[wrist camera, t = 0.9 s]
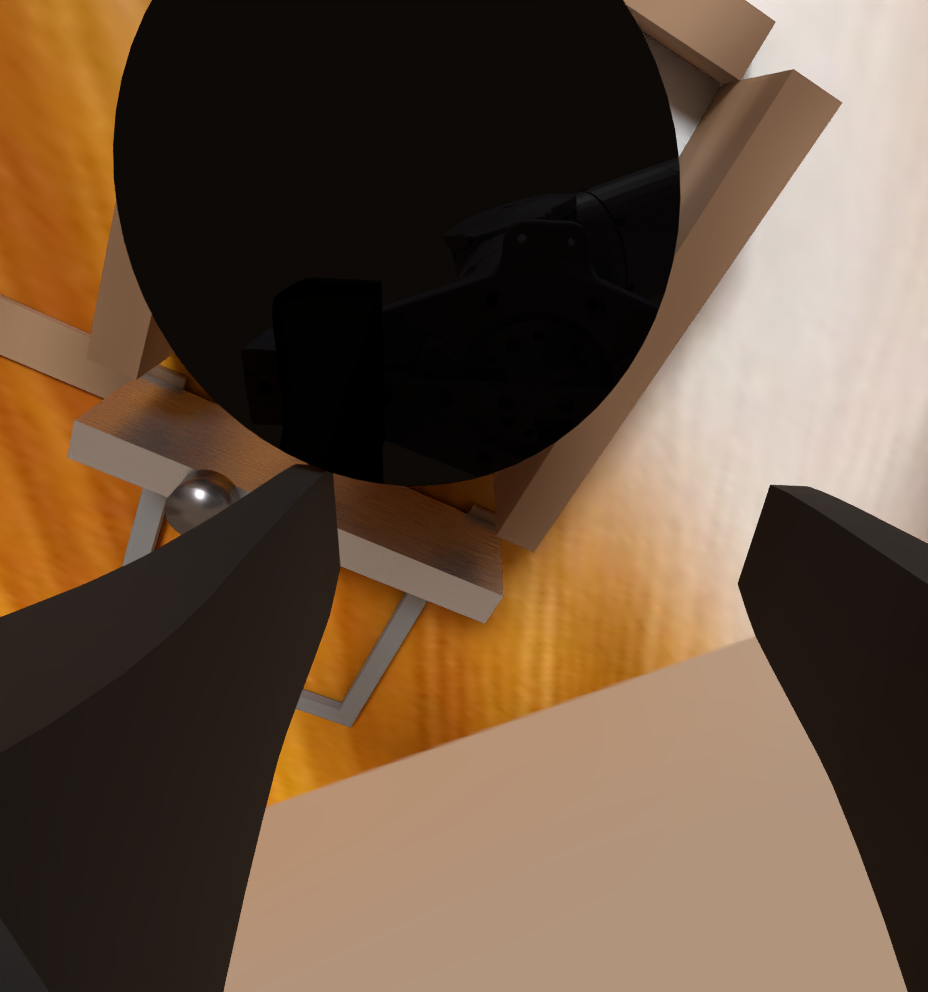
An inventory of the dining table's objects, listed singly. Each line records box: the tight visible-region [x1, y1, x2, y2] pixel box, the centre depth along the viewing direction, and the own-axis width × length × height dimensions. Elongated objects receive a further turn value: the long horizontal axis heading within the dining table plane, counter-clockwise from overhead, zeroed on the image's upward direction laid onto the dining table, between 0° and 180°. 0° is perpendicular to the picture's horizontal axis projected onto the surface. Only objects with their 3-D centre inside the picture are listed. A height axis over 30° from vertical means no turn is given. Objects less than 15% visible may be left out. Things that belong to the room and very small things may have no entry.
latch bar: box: [67, 373, 503, 624], centre depth 18 cm, size 12×2×5 cm, turn 64°
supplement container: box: [113, 0, 681, 486], centre depth 12 cm, size 7×7×10 cm
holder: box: [0, 0, 842, 552], centre depth 14 cm, size 27×16×4 cm, turn 63°
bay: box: [122, 488, 427, 727], centre depth 24 cm, size 11×10×1 cm
